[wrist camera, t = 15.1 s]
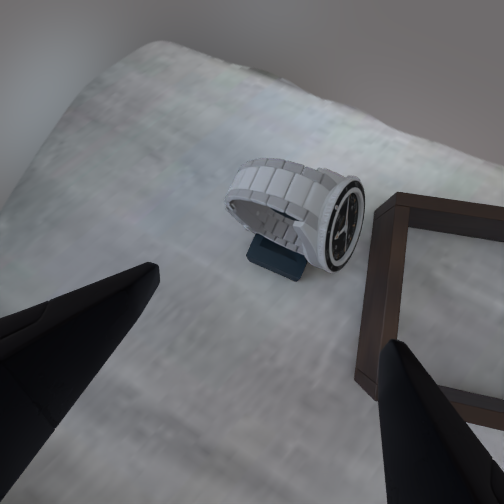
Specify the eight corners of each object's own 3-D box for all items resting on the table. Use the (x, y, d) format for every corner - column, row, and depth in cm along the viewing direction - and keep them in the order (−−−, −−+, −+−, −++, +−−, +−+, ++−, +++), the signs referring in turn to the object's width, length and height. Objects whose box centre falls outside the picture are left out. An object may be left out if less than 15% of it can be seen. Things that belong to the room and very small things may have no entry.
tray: (553, 425, 18) (632, 461, 14) (353, 380, 20) (374, 400, 16) (553, 238, 20) (621, 223, 16) (374, 210, 22) (397, 191, 18)
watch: (318, 291, 21) (366, 285, 10) (231, 253, 22) (192, 211, 11) (342, 231, 22) (412, 165, 11) (257, 197, 23) (244, 107, 12)
